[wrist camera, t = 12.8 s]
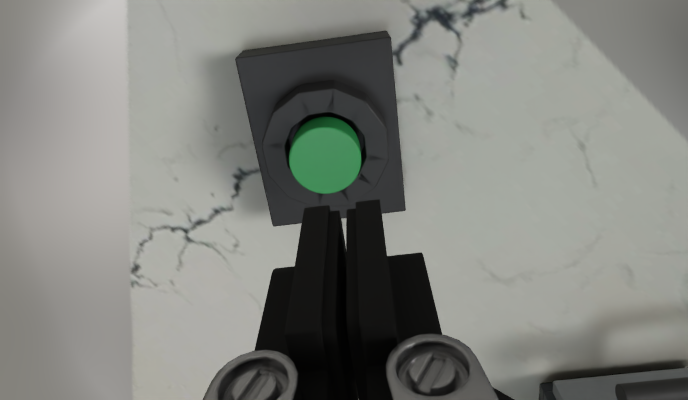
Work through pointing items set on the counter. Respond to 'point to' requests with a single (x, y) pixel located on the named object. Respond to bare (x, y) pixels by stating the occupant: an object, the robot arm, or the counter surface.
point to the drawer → (626, 386)
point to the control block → (324, 101)
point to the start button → (325, 155)
